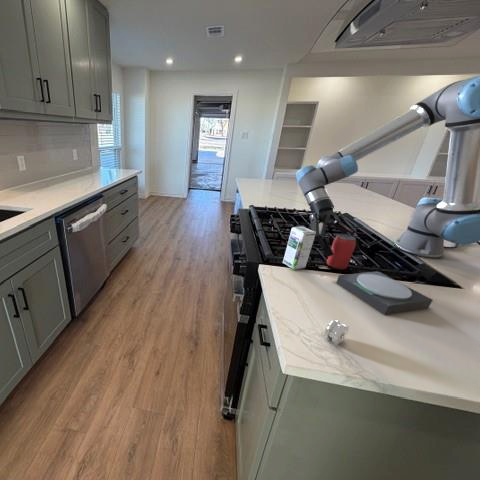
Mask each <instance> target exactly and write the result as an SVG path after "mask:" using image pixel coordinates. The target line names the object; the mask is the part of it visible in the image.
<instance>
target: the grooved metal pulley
mask: <svg viewBox="0 0 480 480" xmlns="http://www.w3.org/2000/svg"><path fill="white" fill-rule="evenodd" d="M340 323H341V322H340V320H338V319H333V320H331V321H330V322H329V323H328V325H327V326H326V328H325V329H324V333H323V336H324V337H325V339H327V340H330V339H331V342H332V343H334V344H335V345H339V344H340V343H341V342H342V341H343V340H344V339H345V337H346V335H348V332H349V330H350V329H349V328H350V327H349V326H348V325H347V324H344V323H342V324H340Z"/></svg>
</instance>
